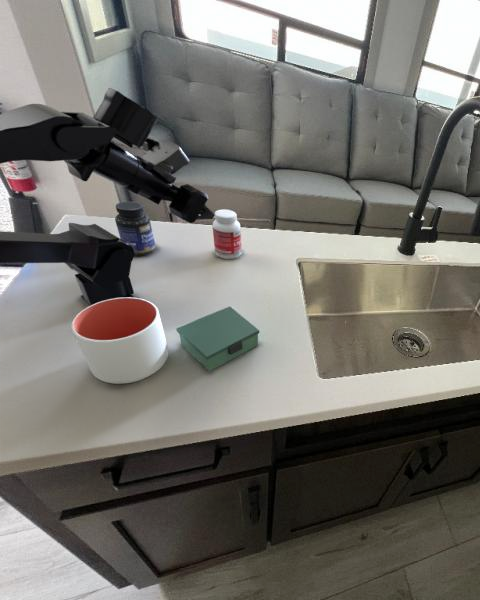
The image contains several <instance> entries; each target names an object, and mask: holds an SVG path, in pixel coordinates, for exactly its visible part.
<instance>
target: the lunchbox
mask: <svg viewBox="0 0 480 600" xmlns="http://www.w3.org/2000/svg"><path fill="white" fill-rule="evenodd" d="M175 329H176V332H177V333H178V334H179V339H180V344H181V346H182V347H183V348H184V349H185V350H186V351H187V352H188V353H189V354H190V355H191V356H192V357H194V359H196V360H197V361H198V362H199V363H200V365H202V366H203V367H204V368H205V369H206V370H207V371H208V372H211V371H213V370H215V369H217V368H219V367H220V366H222V365H224V364H226V363H228V362H229V361H231V360H233V359H235V358H237V357H239V356H241V355H243V354H244V353H246V352H247V351H250V350H252V349H254V348H256V347H257V346H259V334H260V329H259V328H257V327H256V326H255V325H254V324H252V322H250V321H249V320H248V319H247V318H245V317H244V316H243V315H242V314H240V313H239V312H238V311H237V310H235V309H234V308H233V307H232V306H231V305H230V306H226V307H225V308H223V309H220V310H217V311H215V312H212V313H211V314H207V315H205V316H202V317H200V318H198V319H195V320H193V321H191V322H188V323H186V324H183V325H181V326H179V327H176V328H175Z"/></svg>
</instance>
